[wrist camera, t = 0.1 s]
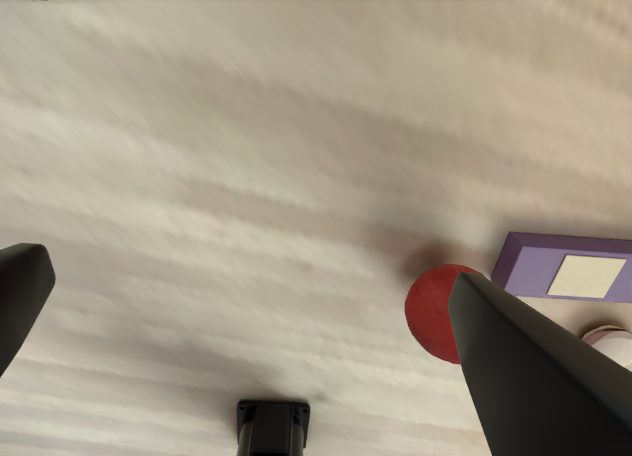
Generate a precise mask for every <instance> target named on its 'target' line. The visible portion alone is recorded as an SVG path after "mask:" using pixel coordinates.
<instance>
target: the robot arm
mask: <svg viewBox="0 0 632 456" xmlns="http://www.w3.org/2000/svg"><path fill="white" fill-rule="evenodd" d="M55 280H56V278H55V272H54V269H53V266H52V263H51V260H50V257H49V254H48V251H47V249H46V247H45V246H44V245H42V244H33V243H19V244H16V245H13V246H10V247H7V248H4V249H2V250H0V377H1V376H2V374H3V373H4V372H5V370H6V369H7V367H8V366H9V364H10V363H11V361H12V360H13V358H14V357H15V355H16V354H17V352H18V351H19V349H20V347H21V346H22V344H23V342H24V341H25V339H26V337H27V335H28V333H29V332H30V330H31V328H32V326H33V324H34V322H35V321H36V319H37V317H38V315H39V313H40V311H41V309H42V308H43V306H44V304H45V302H46V300H47V298H48V297H49V295H50V293H51V291H52V289H53V287H54V285H55ZM448 311H449V316H450V320H451V324H452V329H453V333H454V337H455V342H456V346H457V350H458V355H459V359H460V363H461V367H462V371H463V374H464V377H465V380H466V383H467V386H468V388H469V391H470V394H471V397H472V400H473V403H474V406H475V408H476V411H477V414H478V417H479V420H480V423H481V425H482V428H483V431H484V434H485V437H486V440H487V442H488V445H489V448H490V451H491V454H492V456H632V372H631V371H629V370H628V369H626V368H624V367H623V366H621V365H620V364H618V363H617V362H615V361H614V360H612V359H611V358H609V357H607V356H606V355H604V354H603V353H601V352H600V351H598V350H597V349H595V348H594V347H592V346H590V345H589V344H587V343H586V342H584V341H583V340H581V339H580V338H578V337H577V336H575V335H573V334H572V333H570V332H569V331H567V330H566V329H564V328H563V327H561V326H560V325H558V324H556V323H555V322H553V321H552V320H550V319H549V318H547V317H546V316H544V315H543V314H541V313H539V312H538V311H536V310H535V309H533V308H532V307H530V306H529V305H527V304H526V303H524V302H522V301H521V300H519V299H518V298H516V297H515V296H513V295H512V294H510V293H509V292H507V291H505V290H504V289H502V288H501V287H499V286H498V285H496V284H495V283H493V282H492V281H490V280H488V279H487V278H485V277H484V276H482V275H481V274H479V273H474V272H460V273H459V274H458V275H457V277H456V279H455V282H454V285H453V288H452V291H451V294H450V297H449V300H448ZM309 417H310V405H309V404H306V403H285V402H262V401H239V402H238V404H237V436H238V451H237V456H303V449H304V448H305V447H306V440H307V433H308V425H309Z"/></svg>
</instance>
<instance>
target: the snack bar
mask: <svg viewBox="0 0 632 456" xmlns="http://www.w3.org/2000/svg"><path fill="white" fill-rule="evenodd" d="M491 280H492V282H493V283H495V284H496V285H498V286H499V287H501V288H502V289H504V290H505V291H507V292H509V293H510V294H512V295H513V296H524V297H540V298H556V299H572V300H588V301H604V302H620V303H632V241H627V240H614V239H600V238H586V237H572V236H558V235H544V234H531V233H517V232H510V233H509V235H508V238H507V240H506V243H505V245H504V248H503V250H502V252H501V255H500V257H499V260H498V262H497V265H496V267H495V270H494V272H493V275H492V277H491Z"/></svg>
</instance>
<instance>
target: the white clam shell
mask: <svg viewBox="0 0 632 456" xmlns="http://www.w3.org/2000/svg"><path fill="white" fill-rule="evenodd" d="M581 340H583V341H584V342H586V343H587V344H589V345H590V346H592V347H594V348H595V349H597V350H598V351H600V352H601V353H603V354H604V355H606V356H607V357H609V358H611V359H612V360H614V361H615V362H617V363H618V364H620V365H621V366H623V367H626V366H628V365H629V364H631V363H632V333H630V332H629V331H627V330H625V329H622V328H620V327H616V326H612V325H608V326H601V327H599V328H596V329H594V330H591V331H590V332H588V333H586V334H585V335H584V337H583V338H582V339H581Z"/></svg>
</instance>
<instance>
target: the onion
mask: <svg viewBox="0 0 632 456" xmlns="http://www.w3.org/2000/svg"><path fill="white" fill-rule="evenodd" d="M460 272H474V273H479V274H481V275H482V276H484V275H483V274H482V273H480V272H477V271H475V270H473V269H471V268H468V267H466V266H463V265H454V264H446V265H442V266H438V267H433V268H432V269H430V270H429V271H427V272H425V273H424V274H422V275H421V276H420V277H419V278H418V279H417V280H416V281H415V282H414V283H413V285H412V286H411V288H410V290H409V293H408V295H407V298H406V301H405V315H406V319H407V323H408V327H409V329H410V331H411V333H412V335H413V336H414V337H415V339H416V340H417V341H418V342H419V343H420V345H421V346H422V347H423V348H424V349H425V350H426V351H427V352H429V353H430V354H431V355H433V356H435V357H438V358H440V359H442V360H444V361H448V362H450V363H453V364H459V365H461V363H460V359H459V355H458V350H457V346H456V342H455V337H454V333H453V329H452V324H451V320H450V316H449V311H448V300H449V297H450V294H451V291H452V288H453V285H454V282H455V279H456V277H457V275H458V274H459V273H460ZM484 277H485V276H484ZM485 278H486V277H485Z"/></svg>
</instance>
